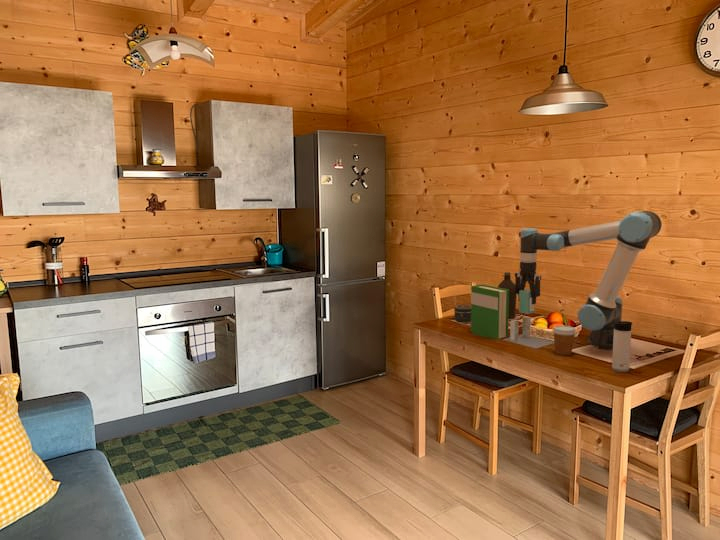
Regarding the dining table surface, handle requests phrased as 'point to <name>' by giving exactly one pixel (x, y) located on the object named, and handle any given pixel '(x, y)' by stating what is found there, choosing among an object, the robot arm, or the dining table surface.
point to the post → (514, 331)
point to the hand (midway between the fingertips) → (526, 309)
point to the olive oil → (512, 295)
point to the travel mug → (621, 346)
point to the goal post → (526, 328)
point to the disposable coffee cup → (563, 339)
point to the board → (532, 342)
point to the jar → (462, 313)
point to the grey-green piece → (525, 301)
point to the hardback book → (489, 311)
